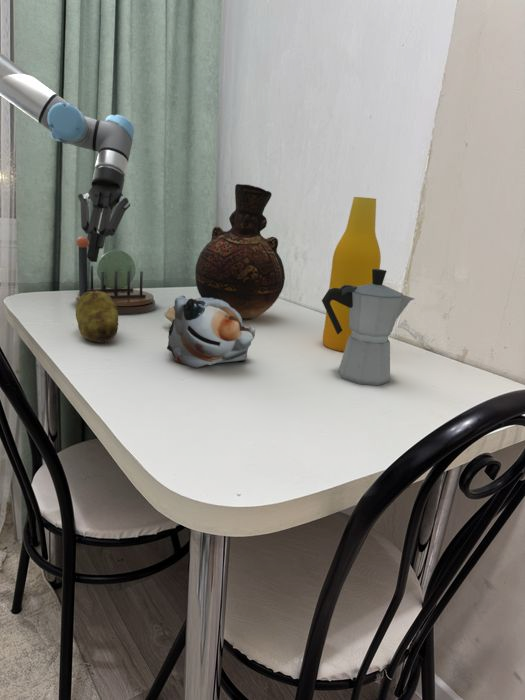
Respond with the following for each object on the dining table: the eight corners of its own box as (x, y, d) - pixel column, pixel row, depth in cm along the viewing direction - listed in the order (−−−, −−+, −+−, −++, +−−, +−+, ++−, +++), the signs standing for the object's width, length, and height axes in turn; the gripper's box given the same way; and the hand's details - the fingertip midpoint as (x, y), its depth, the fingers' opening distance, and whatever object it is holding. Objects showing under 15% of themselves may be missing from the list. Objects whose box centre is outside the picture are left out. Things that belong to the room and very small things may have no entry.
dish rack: (88, 307, 108) (88, 240, 104) (67, 292, 121) (66, 232, 117) (165, 304, 118) (167, 243, 114) (137, 290, 131) (138, 235, 127)
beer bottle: (313, 344, 102) (330, 194, 94) (337, 337, 109) (356, 197, 101) (352, 356, 96) (375, 197, 88) (375, 348, 103) (398, 200, 95)
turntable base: (58, 305, 115) (58, 298, 115) (112, 295, 131) (112, 289, 131) (121, 318, 109) (121, 311, 108) (169, 306, 124) (170, 300, 124)
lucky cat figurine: (258, 355, 91) (276, 295, 81) (228, 398, 82) (245, 338, 73) (186, 320, 93) (195, 258, 84) (149, 359, 85) (155, 295, 75)
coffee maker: (393, 370, 90) (410, 268, 85) (408, 388, 81) (428, 276, 76) (309, 364, 89) (322, 261, 84) (317, 381, 80) (331, 268, 75)
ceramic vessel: (182, 318, 114) (188, 178, 106) (204, 304, 130) (211, 183, 122) (273, 329, 111) (287, 186, 102) (285, 314, 127) (297, 190, 119)
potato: (66, 345, 87) (65, 299, 85) (79, 326, 99) (79, 286, 97) (116, 347, 89) (116, 302, 86) (123, 328, 101) (123, 289, 99)
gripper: (138, 184, 131) (122, 268, 125) (89, 180, 132) (71, 263, 126) (131, 167, 124) (113, 255, 118) (79, 163, 125) (59, 250, 119)
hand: (91, 259), depth 122 cm, fingers closed
